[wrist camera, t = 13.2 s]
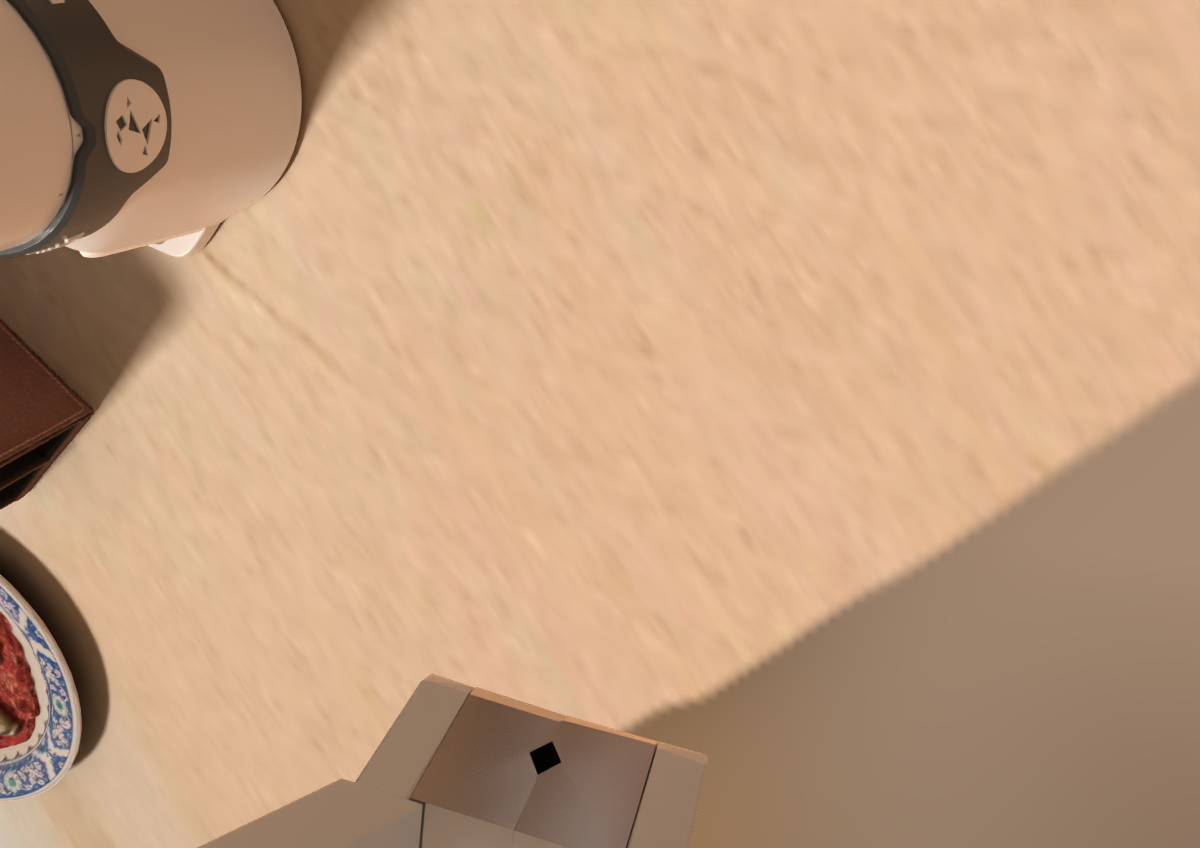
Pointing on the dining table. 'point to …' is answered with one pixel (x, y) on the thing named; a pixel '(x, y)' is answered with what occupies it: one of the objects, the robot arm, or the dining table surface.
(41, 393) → the letter holder
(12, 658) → the ceramic plate
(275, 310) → the dining table surface
